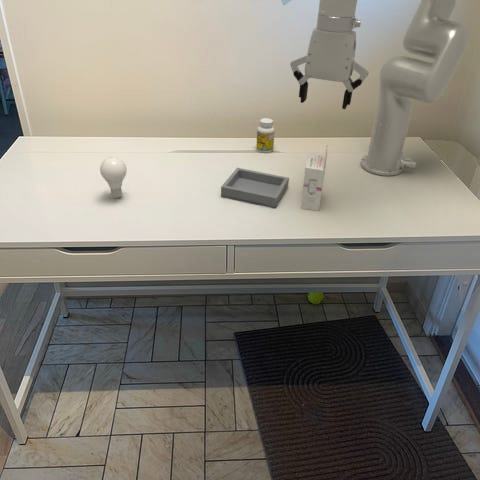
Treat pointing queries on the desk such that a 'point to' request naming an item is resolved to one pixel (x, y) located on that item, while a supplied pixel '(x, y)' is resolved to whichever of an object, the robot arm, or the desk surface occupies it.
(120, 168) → the lightbulb
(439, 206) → the desk surface
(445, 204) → the desk surface
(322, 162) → the ink cartridge box
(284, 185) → the tray
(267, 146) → the supplement bottle
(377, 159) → the robot arm
